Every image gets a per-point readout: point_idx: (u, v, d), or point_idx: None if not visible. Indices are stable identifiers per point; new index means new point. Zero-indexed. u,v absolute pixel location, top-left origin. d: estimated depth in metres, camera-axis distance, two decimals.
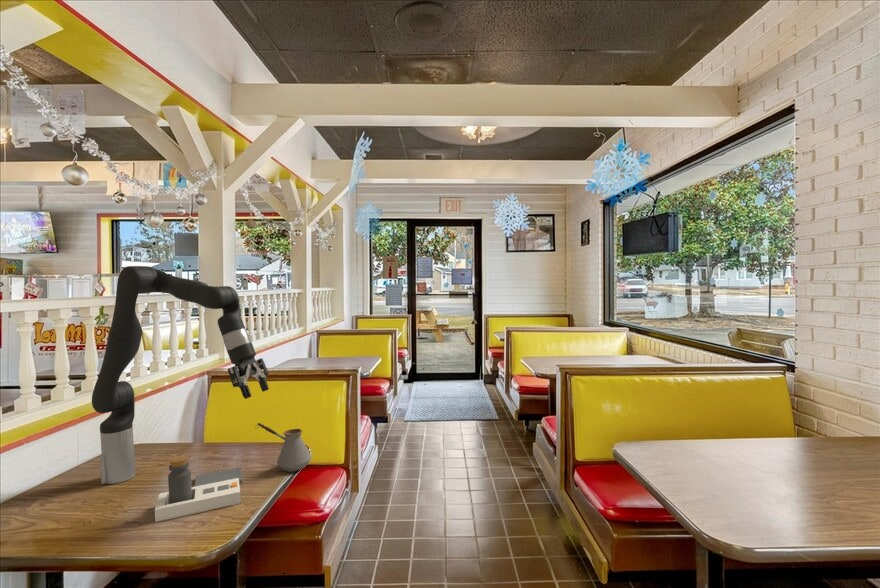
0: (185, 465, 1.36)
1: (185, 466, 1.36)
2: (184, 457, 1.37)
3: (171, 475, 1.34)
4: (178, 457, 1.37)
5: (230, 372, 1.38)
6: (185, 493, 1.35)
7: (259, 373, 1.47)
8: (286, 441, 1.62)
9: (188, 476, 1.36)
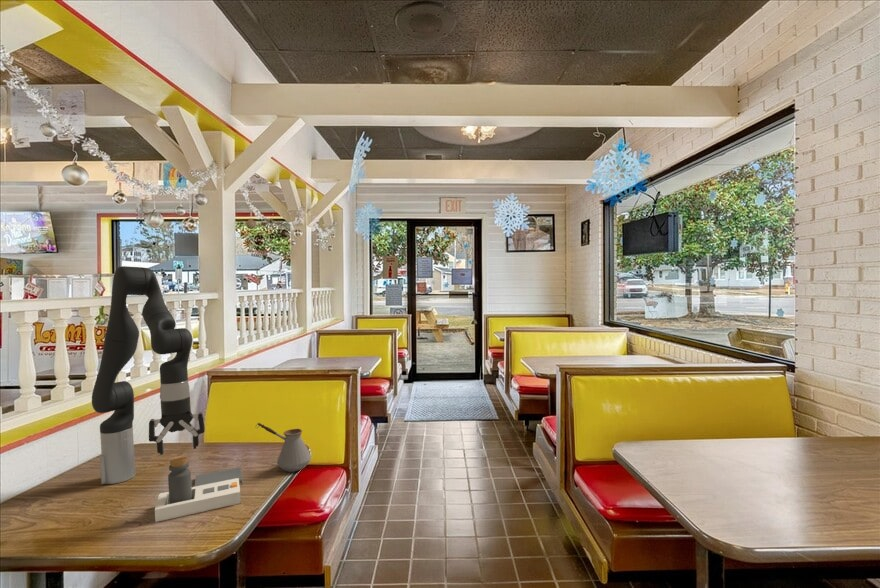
0: (185, 465, 1.36)
1: (185, 466, 1.36)
2: (184, 457, 1.37)
3: (171, 475, 1.34)
4: (178, 457, 1.37)
5: None
6: (185, 493, 1.35)
7: (188, 430, 1.36)
8: (286, 441, 1.62)
9: (188, 476, 1.36)
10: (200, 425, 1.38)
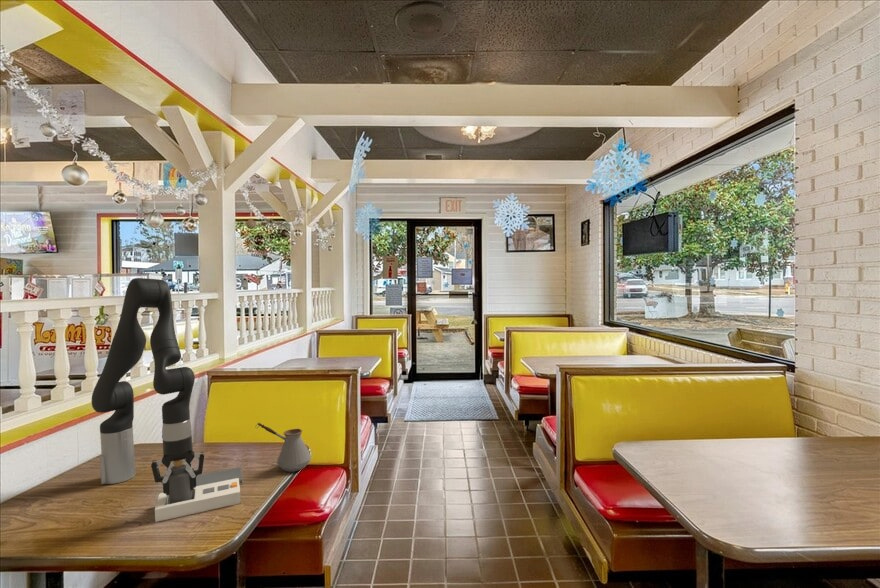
0: (185, 465, 1.36)
1: (185, 466, 1.36)
2: None
3: (171, 475, 1.34)
4: None
5: None
6: (185, 493, 1.35)
7: (187, 470, 1.36)
8: (286, 441, 1.62)
9: (188, 476, 1.36)
10: (199, 466, 1.38)
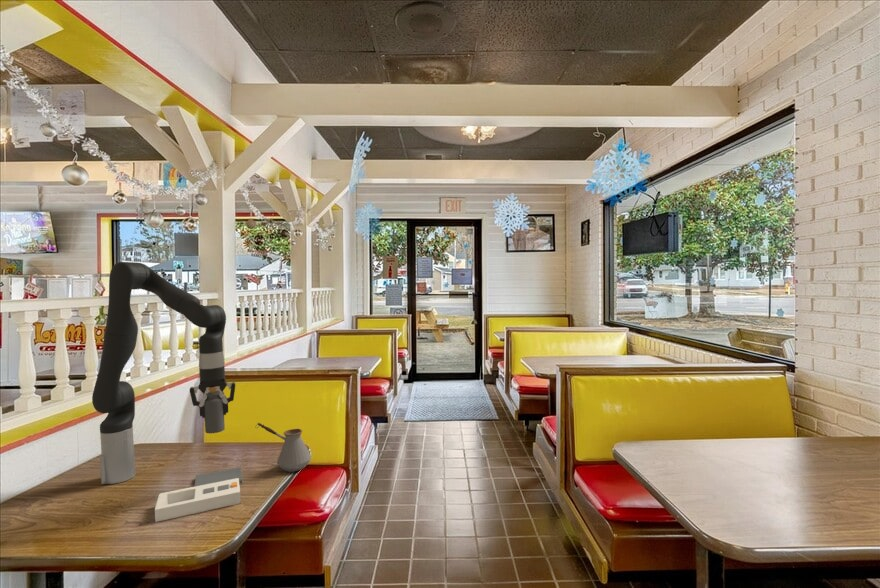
0: (219, 392, 1.52)
1: (219, 392, 1.52)
2: None
3: (206, 400, 1.51)
4: None
5: None
6: (219, 416, 1.52)
7: None
8: (286, 441, 1.62)
9: (221, 402, 1.53)
10: (231, 393, 1.54)
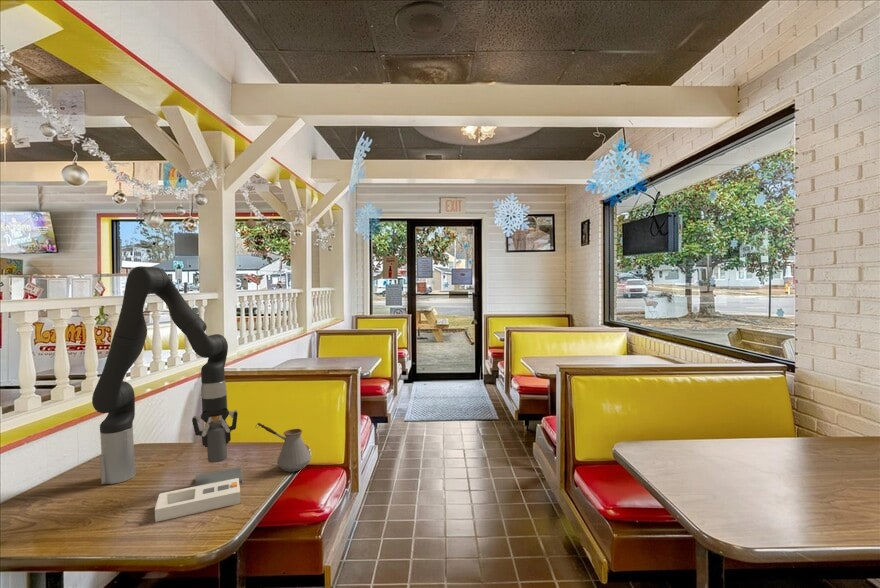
0: (221, 421, 1.53)
1: (221, 422, 1.53)
2: None
3: (209, 429, 1.52)
4: None
5: None
6: (221, 445, 1.53)
7: (223, 426, 1.54)
8: (286, 441, 1.62)
9: (224, 431, 1.54)
10: (233, 422, 1.55)
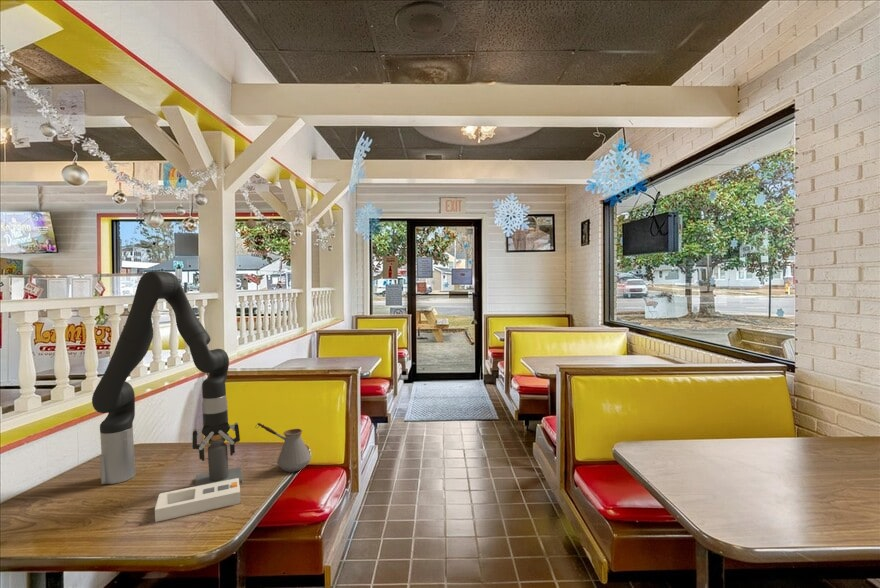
0: (222, 439, 1.54)
1: (223, 440, 1.54)
2: None
3: (210, 448, 1.52)
4: None
5: None
6: (223, 463, 1.53)
7: (226, 439, 1.54)
8: (286, 441, 1.62)
9: (225, 449, 1.54)
10: (236, 435, 1.56)
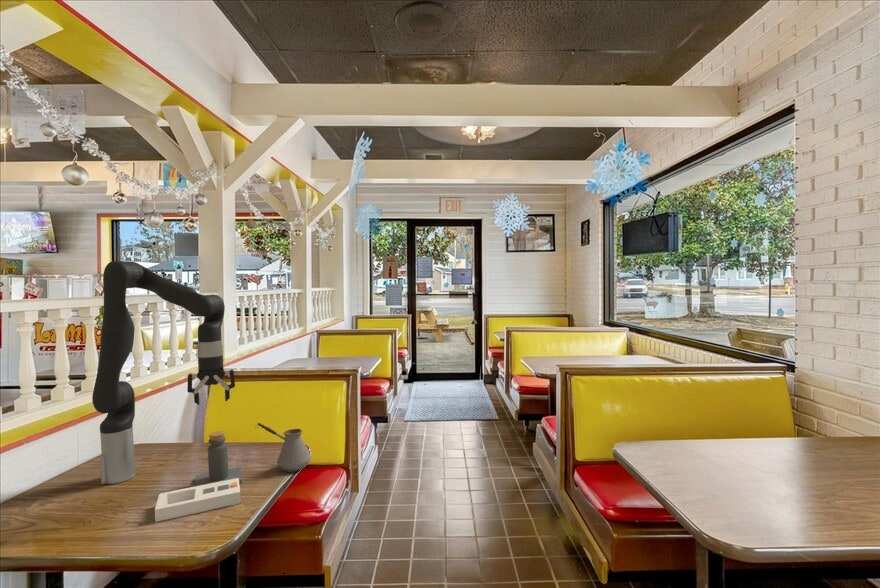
0: (222, 439, 1.54)
1: (222, 440, 1.53)
2: (221, 432, 1.55)
3: (210, 448, 1.52)
4: (216, 432, 1.55)
5: None
6: (223, 463, 1.53)
7: (221, 384, 1.55)
8: (286, 441, 1.62)
9: (225, 449, 1.54)
10: (231, 380, 1.56)
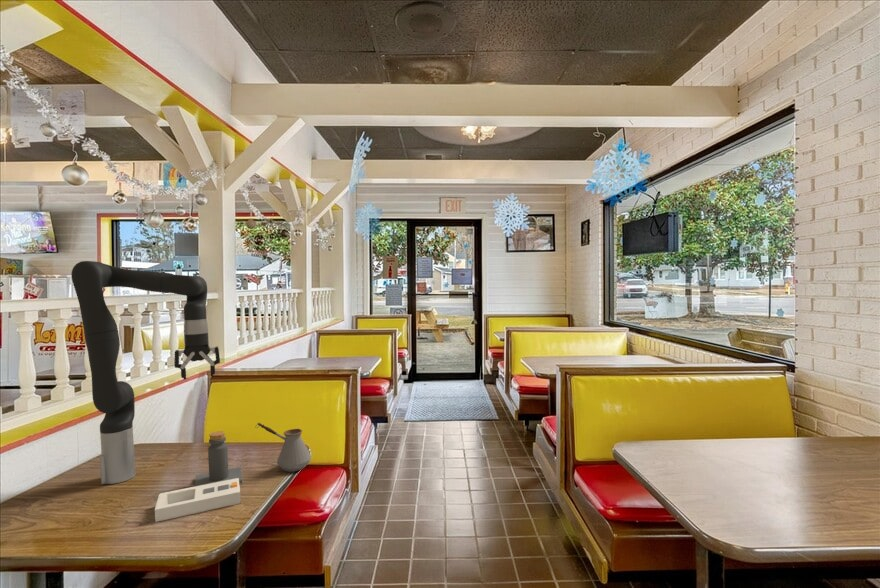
0: (223, 439, 1.54)
1: (223, 440, 1.54)
2: (222, 432, 1.55)
3: (211, 448, 1.52)
4: (216, 432, 1.55)
5: None
6: (223, 463, 1.53)
7: (206, 360, 1.64)
8: (286, 441, 1.62)
9: (226, 449, 1.54)
10: (216, 357, 1.65)
